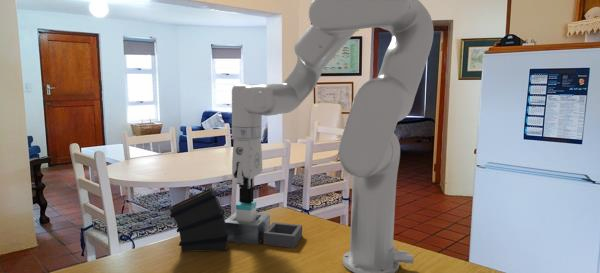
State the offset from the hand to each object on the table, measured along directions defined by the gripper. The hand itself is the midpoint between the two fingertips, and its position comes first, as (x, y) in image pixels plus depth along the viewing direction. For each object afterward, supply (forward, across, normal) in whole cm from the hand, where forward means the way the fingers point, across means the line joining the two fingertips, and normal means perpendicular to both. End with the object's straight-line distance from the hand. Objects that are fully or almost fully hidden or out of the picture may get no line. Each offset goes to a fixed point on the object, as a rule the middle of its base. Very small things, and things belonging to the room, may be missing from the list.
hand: (246, 201), depth 108 cm
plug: (+9, 0, 0) cm, 9 cm away
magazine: (+10, -11, +8) cm, 17 cm away
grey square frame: (+9, 0, -10) cm, 14 cm away
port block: (+9, 0, 0) cm, 9 cm away
